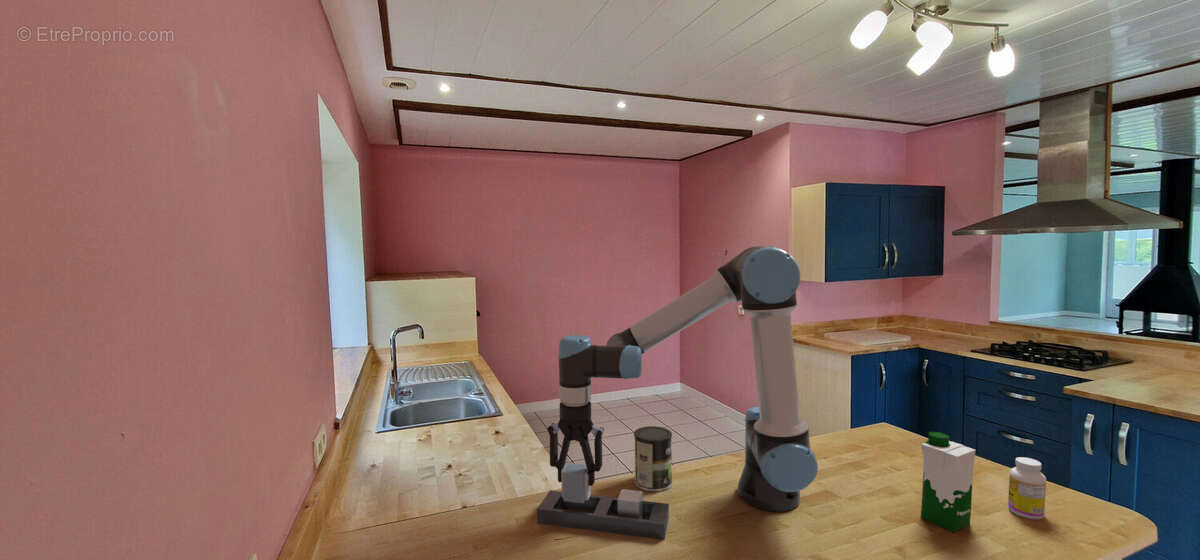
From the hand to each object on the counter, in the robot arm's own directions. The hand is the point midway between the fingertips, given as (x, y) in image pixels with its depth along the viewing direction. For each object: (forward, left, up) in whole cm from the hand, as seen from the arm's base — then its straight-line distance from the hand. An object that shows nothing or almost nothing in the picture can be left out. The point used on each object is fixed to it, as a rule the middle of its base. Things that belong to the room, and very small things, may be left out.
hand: (576, 495), depth 119 cm
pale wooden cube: (-13, 0, -5) cm, 14 cm away
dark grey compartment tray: (-7, 0, -5) cm, 9 cm away
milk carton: (-85, -17, -6) cm, 87 cm away
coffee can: (-16, -21, -6) cm, 27 cm away
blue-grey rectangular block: (0, 0, 0) cm, 0 cm away
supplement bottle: (-105, -25, -6) cm, 108 cm away
